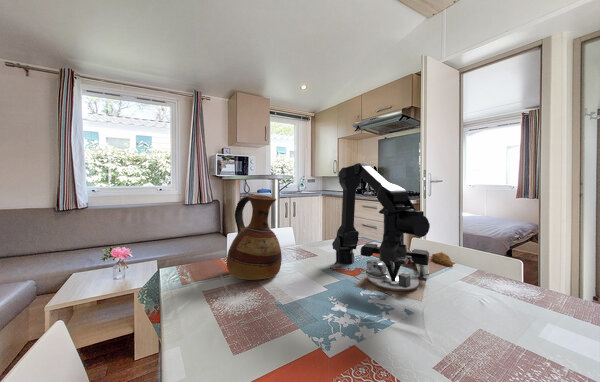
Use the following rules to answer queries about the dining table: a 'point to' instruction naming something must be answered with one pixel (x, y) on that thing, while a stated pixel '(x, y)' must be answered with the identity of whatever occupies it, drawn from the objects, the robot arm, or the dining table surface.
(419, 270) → the valve
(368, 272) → the cover
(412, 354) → the dining table surface
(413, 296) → the base board
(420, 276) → the dial gauge
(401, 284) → the turntable
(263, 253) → the ceramic pitcher
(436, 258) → the croissant
